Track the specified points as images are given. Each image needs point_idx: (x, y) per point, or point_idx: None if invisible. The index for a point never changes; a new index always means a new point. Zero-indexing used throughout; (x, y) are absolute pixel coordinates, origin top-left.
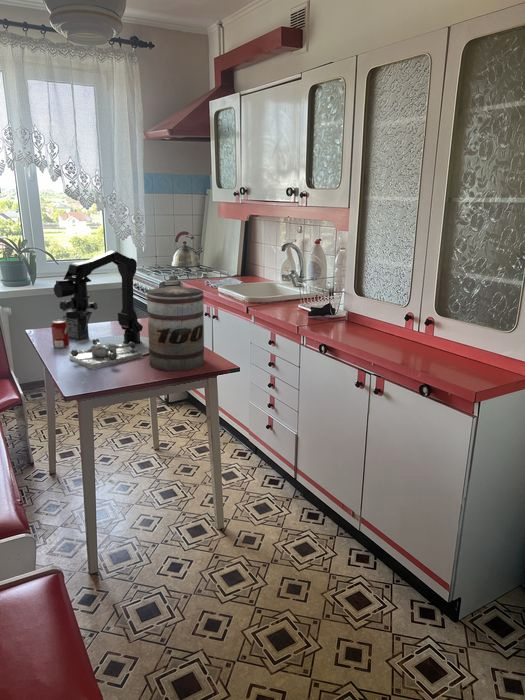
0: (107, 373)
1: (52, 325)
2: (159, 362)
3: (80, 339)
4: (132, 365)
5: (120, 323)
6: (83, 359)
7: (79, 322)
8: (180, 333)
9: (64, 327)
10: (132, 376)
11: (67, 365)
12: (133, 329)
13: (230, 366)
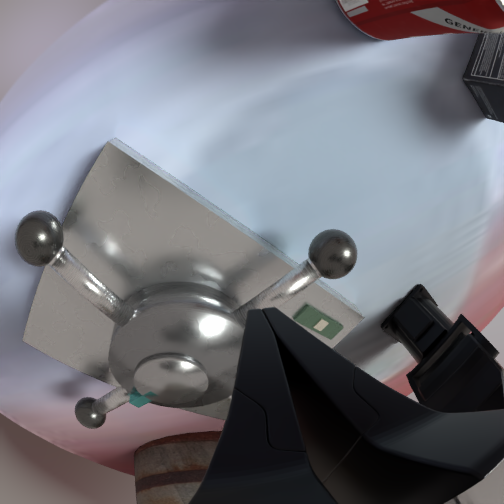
0: (34, 377)
1: None
2: (135, 471)
3: (468, 86)
4: (138, 413)
5: (464, 349)
6: (55, 278)
7: (231, 405)
8: None
9: (456, 6)
10: (59, 424)
11: (20, 191)
12: (412, 385)
13: None
